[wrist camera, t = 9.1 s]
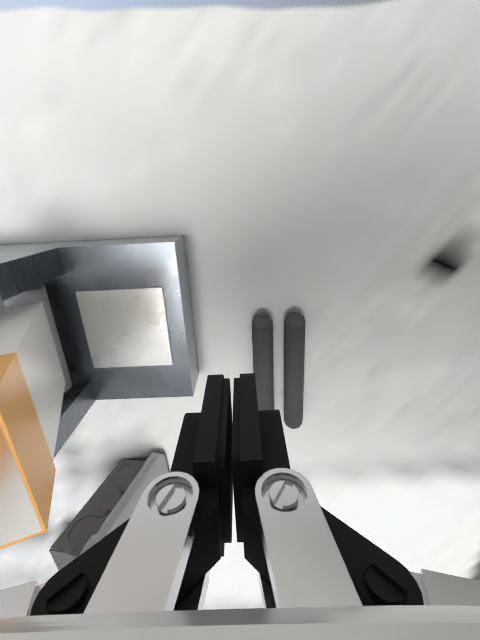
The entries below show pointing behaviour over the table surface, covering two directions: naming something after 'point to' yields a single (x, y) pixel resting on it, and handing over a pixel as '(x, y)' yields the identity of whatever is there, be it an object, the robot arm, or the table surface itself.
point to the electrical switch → (108, 507)
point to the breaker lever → (28, 413)
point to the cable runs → (292, 365)
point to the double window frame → (112, 316)
